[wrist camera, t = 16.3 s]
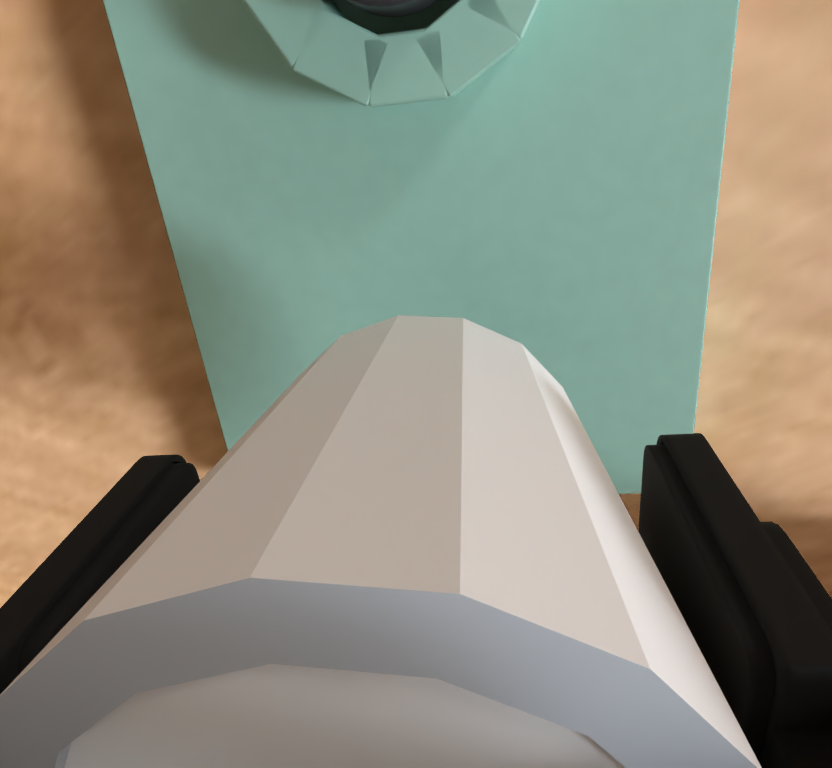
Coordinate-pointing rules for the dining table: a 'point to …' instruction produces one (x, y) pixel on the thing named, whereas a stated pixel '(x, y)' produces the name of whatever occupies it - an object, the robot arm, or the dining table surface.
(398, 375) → the white tapered cup
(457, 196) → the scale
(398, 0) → the button
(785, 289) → the dining table surface
